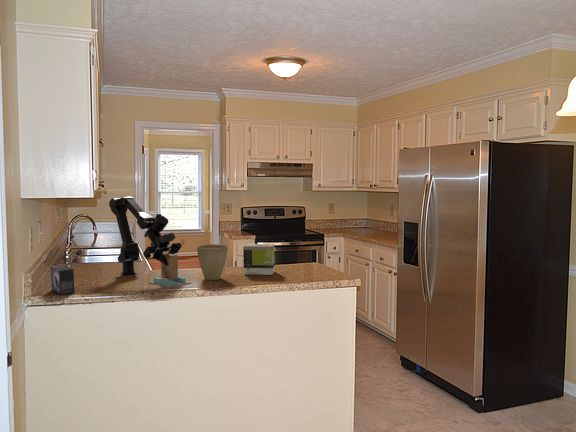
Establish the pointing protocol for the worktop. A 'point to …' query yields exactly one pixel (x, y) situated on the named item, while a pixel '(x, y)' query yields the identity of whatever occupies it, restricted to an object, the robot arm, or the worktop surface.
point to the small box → (62, 279)
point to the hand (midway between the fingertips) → (171, 264)
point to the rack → (169, 282)
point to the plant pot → (212, 260)
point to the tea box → (259, 259)
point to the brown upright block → (170, 267)
